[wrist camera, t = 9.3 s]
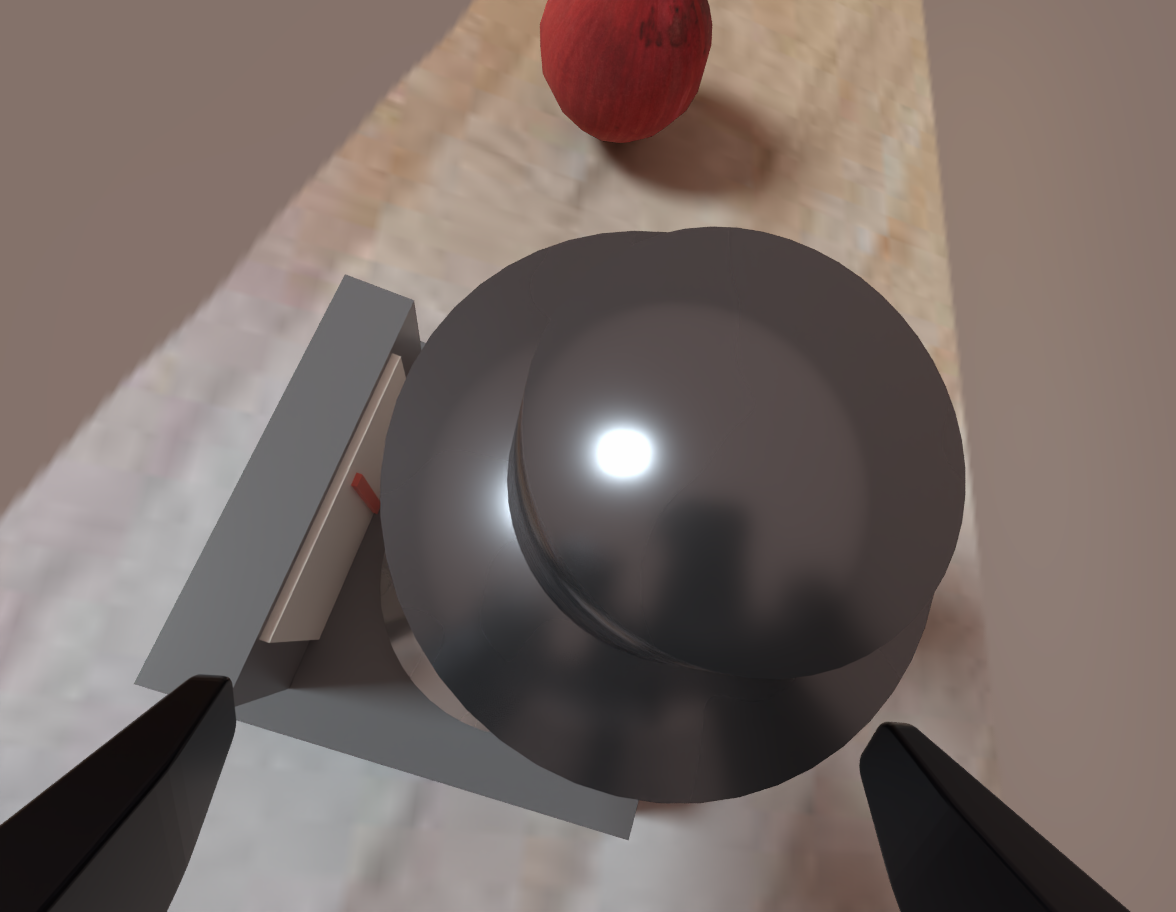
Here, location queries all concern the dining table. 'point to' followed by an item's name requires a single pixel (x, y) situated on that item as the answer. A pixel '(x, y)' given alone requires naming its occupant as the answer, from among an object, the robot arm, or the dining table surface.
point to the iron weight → (672, 508)
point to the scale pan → (417, 654)
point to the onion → (624, 62)
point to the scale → (337, 583)
